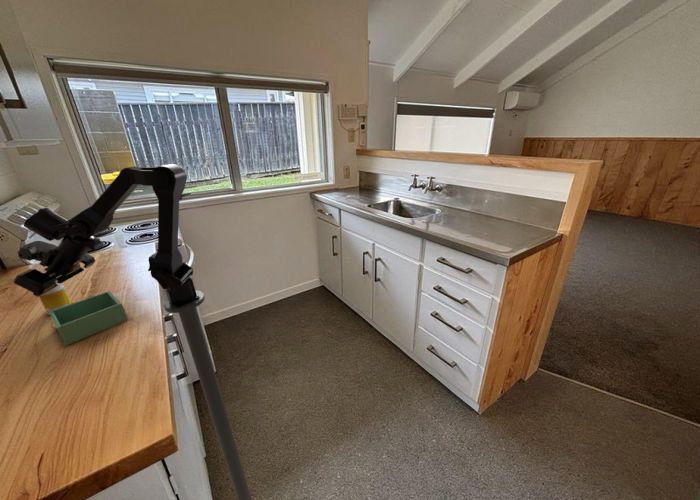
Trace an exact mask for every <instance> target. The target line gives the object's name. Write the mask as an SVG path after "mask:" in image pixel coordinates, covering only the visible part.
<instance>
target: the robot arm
mask: <svg viewBox="0 0 700 500" xmlns="http://www.w3.org/2000/svg"><path fill="white" fill-rule="evenodd" d="M187 179H188V175H187V172H186V170H184V168H183V167H182V166H180V165H178V164H175V163H169V164H164V165H160V166H156V167H155V166H152V167H151V166H149V167H145V166H136V165H134V166H128V167H123V168H122V169H120V171H119V172H118V175H117V176H116V177H115V178H114V179H113V180H112V182H111V183H110V184H109V185H108V186H107V188H106V189H104V191H102V193H101V194H100V195H99V196H98V198H97V199H96V200H95V201H94V202H93V204H91V205H90V206H88V207H86V208H85V209H83V210H81V211H80V212H78V213H77V214H75V215H74V216H73V217H71V218H70V219H67V218H64V217H63V216H61V215H59V214H58V213H56V212H54V211H53V210H52V209H50V208H49V207H43V208H39V209H38V211H37V212H36V213H34V214H32V215H31V216H29V218H26V219H25V220H24V222H23V227H24V228H25V229H28V230H29V231H31V232H33V233H35V234H36V235H38V236H40V237H42V238H43V239H45V240H46V241H49V242H52V241H54V240H56V241H60V242H59V243H58V245H56V244H53V243H49V242H46V241H42V240H34V241H31V242H29V243H26V244H24V245H22V247H20V248H19V250H17V255H18V258H19V259H21V260H25V261H28V262H29V261H36V262H39V265H40V266H41V267H45V268H44V269H43V270H44V272H42V271H40V270H38V269H36V268H31V269H30V268H29V269H28V270H25V271H24V272H22V273H19V274H17V275H16V276H15V278H14V279H13V284H15V285H16V286H19V287H21V288H22V289H25V290H27V291H29V292H31V293H33V296H35V297H36V298H39V297H38V296H40V295H42V294H44V293H46V292H47V291H49V290H51V289H53V288H55V287H56V286H58V285H57V284H56V281H58V282H57V283H61V284H63V283H65V282H66V281H68V280H70V279H71V278H73V277H75V276H77V275H79V274H80V273H83V272H84V271H85V269H88V268H90V267H92V266H93V265H94V264H95V262H96V259H95V257H94V256H93V255H92V254H89V253H88V252H89V250H92V251H96V250H98V249H100V248H102V247H103V246H104V243H103V241H102V240H101V239H100V237H95V236H96V235H98V234H100V233H102V232H104V231H107V230H108V229H109V227H110V226H111V223H112V222H113V220H114V215H115V212H116V211H117V210H118V209H119V207H121V205H122V204H123V203H124V202H125V201H126V200H127V199H128V197H129V196H130V195H131V194H132V193H133V192H134V191H135V189H136V188H138V186H145V187H152V191H153V192H154V194H155V197H156V198H157V204H158V205H157V211H158V212H157V251H156V252H154V253H153V254H151V255H150V256H149V257H148V265H149V266H148V269H147V271H148V272H150V276H151V278H153V279H154V280H155V281H156V282H157V283H158V284H159V285H160V286H161V288H162V289H163V290H164V292H165V295H166V298H167V300H168V301H169V303H171V304H172V305H174V306H176V307H177V308H178V307H181V306H183V305H185V304H188V303H190V302H192V301H194V300H197V299H199V298H200V297H199V296H198V295H197V294H196V291H197V290H196V287H195V283H194V281H193V278H192V277H191V276H193V275H194V268H193V267H192V266H190V265H188V264H186V263H185V262H184V261H183V256H182V254H181V251H180V250H179V248H178V247H179V223H180V222H179V220H180V219H179V218H180V199H181V198H182V196H183V193H184V191H185V188H186V183H187ZM81 264H83V267H82V266H81ZM195 290H196V291H195Z"/></svg>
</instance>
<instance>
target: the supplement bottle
mask: <svg viewBox="0 0 700 500" xmlns="http://www.w3.org/2000/svg"><path fill="white" fill-rule="evenodd" d="M57 282H58V281H56V284H57V285H58V286H56V287H55V288H53V289H51V290H49V291H47V292H46V293H44V294H42V295H40V296H38V297H37V298H38V299H39V301H40V303H41V304H42V306H43V308H44V310H45V312H46V314H47V315H50V313H49V311H52V310H55V309H58V308H60V307H63V306H66V305H69V304H72V303H73V302H72V301H71V298H70V297H69V294H68V292H67V289H66V288H65V286H64V284H63V283H57Z"/></svg>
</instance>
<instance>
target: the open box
mask: <svg viewBox="0 0 700 500" xmlns="http://www.w3.org/2000/svg"><path fill="white" fill-rule="evenodd" d="M49 313H50V314H49V315H50V318H51V320H52V321H53V323H54V326H55V328H56V330H57V332H58V333H59V335H60V338H61V340H62V341H63V343H64V345H65V346H69V345H71V344H74V343H76V342H78V341H82V339H85V338H88V337H90V336H93V335H94V334H98V333H100V332H102V331H104V330H106V329H109V328H112V327H114V326H116V325H119V324H121V323H123V322H126V321H128V320H129V318H128V315H127V313H126V311H125V308H124V306H123V303H122V302H121V301H120V300H119V299H118V298H117V297H116V296H115V295H114V294H113V293H112V292H111V291H110V290H108V291H104V292H102V293H99V294H96V295H93V296H90V297H87V298H84V299H81V300H79V301H75V302H72V304H69V305H66V306H63V307H60V308H58V309H55V310H52V311H49Z"/></svg>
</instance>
